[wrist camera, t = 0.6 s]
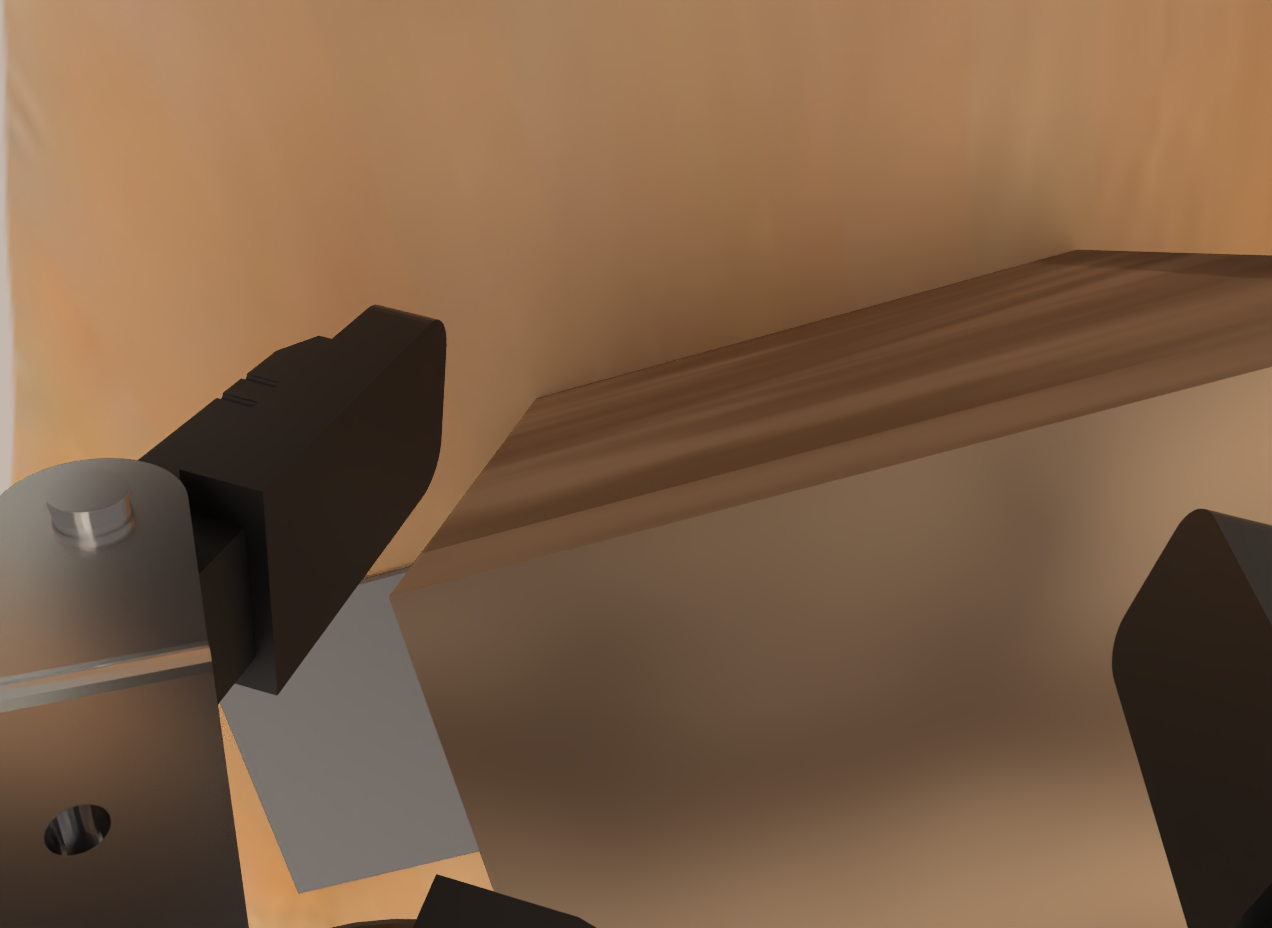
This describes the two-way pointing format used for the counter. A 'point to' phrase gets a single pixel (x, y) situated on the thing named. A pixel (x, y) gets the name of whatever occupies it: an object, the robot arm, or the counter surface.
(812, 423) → the walnut desk
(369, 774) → the rubber mat
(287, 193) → the counter surface
